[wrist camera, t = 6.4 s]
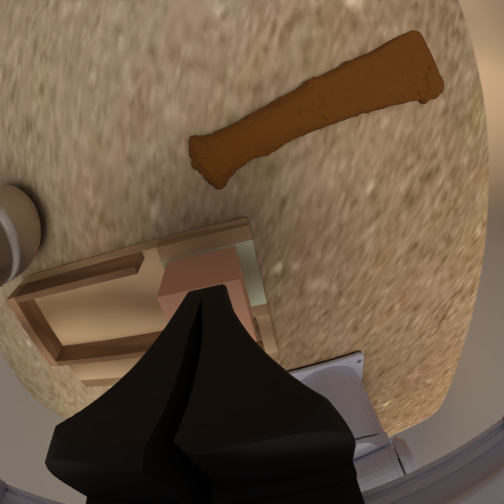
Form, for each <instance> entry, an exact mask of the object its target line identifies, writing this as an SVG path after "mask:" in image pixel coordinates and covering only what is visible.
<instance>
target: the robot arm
mask: <svg viewBox="0 0 504 504" xmlns="http://www.w3.org/2000/svg"><path fill="white" fill-rule="evenodd" d="M363 361H364V355H363V353H362V352H358V353H355V354H351V355H348V356H345V357H342V358H338V359H335V360H332V361H328V362H325V363H321V364H317V365H314V366H310V367H306V368H302V369H299V370H295V371H290V372H287V371H286V370H285V369H284V368H282V367H281V366H280V365H279V364H278V363H277V362H275V361H274V360H273V359H272V358H271V357H270V356H269V355H268V354H267V353H266V352H265V351H264V350H263V349H262V348H261V347H260V346H259V345H258V344H257V343H256V341H255V340H254V339H253V338H252V337H251V335H250V334H249V333H248V331H247V330H246V329H245V327H244V326H243V325H242V323H241V322H240V320H239V318H238V317H237V315H236V313H235V312H234V310H233V306H232V303H231V300H230V297H229V293H228V290H227V287H226V286H225V285H223V284H220V285H215V286H211V287H207V288H202V289H198V290H193V291H189V292H188V293H187V295H186V296H185V298H184V299H183V301H182V302H181V304H180V305H179V307H178V309H177V310H176V312H175V313H174V315H173V316H172V318H171V319H170V321H169V322H168V324H167V325H166V327H165V328H164V330H163V331H162V332H161V334H160V335H159V336H158V338H157V339H156V340H155V342H154V343H153V344H152V346H151V347H150V348H149V349H148V351H147V352H146V353H145V354H144V355H143V357H142V358H141V359H140V360H139V361H138V362H137V363H136V364H135V365H134V366H133V367H132V369H131V370H130V371H129V372H127V373H126V374H125V375H124V376H123V377H122V378H121V379H120V380H119V381H118V382H117V383H116V384H115V385H114V386H112V387H111V388H110V389H109V390H108V391H107V392H105V393H104V394H103V395H102V396H100V397H99V398H98V399H97V400H95V401H94V402H92V403H91V404H90V405H88V406H87V407H86V408H84V409H83V410H81V411H80V412H78V413H76V414H75V415H73V416H72V417H70V418H68V419H67V420H65V421H64V422H62V423H60V424H58V425H57V426H56V427H55V430H54V433H53V436H52V440H51V443H50V446H49V450H48V453H47V457H46V460H45V464H46V467H47V468H48V470H49V471H50V472H51V473H52V474H53V475H54V476H55V477H57V478H58V479H59V480H61V481H62V482H64V483H65V484H67V485H68V486H70V487H72V488H73V489H75V490H77V491H79V492H80V493H82V494H83V495H85V496H87V500H86V504H504V417H503V418H502V419H501V420H499V421H498V422H497V423H495V424H494V425H492V426H491V427H490V428H488V429H487V430H485V431H484V432H482V433H481V434H480V435H478V436H476V437H475V438H473V439H472V440H470V441H468V442H467V443H466V444H463V445H462V446H460V447H458V448H457V449H455V450H453V451H452V452H450V453H448V454H446V455H445V456H443V457H441V458H439V459H437V460H435V461H434V462H431V463H429V464H427V465H425V466H423V467H421V468H418V465H417V463H416V461H415V459H414V456H413V454H412V452H411V450H410V448H409V446H408V444H407V443H406V441H405V439H402V438H398V437H394V438H393V439H391V440H392V443H393V445H394V450H395V452H396V454H397V457H398V459H397V457H396V454H395V452H394V450H393V447H392V445H391V443H390V441H389V438H388V436H387V434H386V432H384V430H383V428H382V425H381V423H380V421H379V419H378V416H377V414H376V412H375V410H374V408H373V405H372V403H371V401H370V399H369V397H368V394H367V392H366V390H365V388H364V386H363V384H362V373H363ZM0 504H63V503H60V502H56V501H52V500H49V499H46V498H43V497H40V496H37V495H34V494H31V493H28V492H26V491H23V490H20V489H18V488H15V487H13V486H10V485H8V484H6V483H5V482H4V481H3V480H1V479H0Z"/></svg>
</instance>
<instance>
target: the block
mask: <svg viewBox="0 0 504 504" xmlns="http://www.w3.org/2000/svg"><path fill="white" fill-rule="evenodd" d="M220 284H223V285H225V286H226V287H227V290H228V293H229V297H230V300H231V303H232V306H233V310H234V312H235V313H236V315H237V317H238V318H239V320H240V322H241V323H242V325H243V326H244V327H245V329H246V330H247V331H248V333H249V334H250V335H251V337H252V338H253V339H254V340H255V341H256V342H257V339H256V333H255V327H254V321H253V315H252V309H251V304H250V300H249V296H248V292H247V288H246V284H245V281H244V277H243V273H242V269H241V265H240V262H239V258H238V254H237V250H236V246H232V247H228V248H224V249H219V250H215V251H211V252H207V253H203V254H198V255H194V256H190V257H186V258H182V259H178V260H173V261H169V262H167V265H166V268H165V271H164V275H163V278H162V281H161V285H160V288H159V292H158V295H157V299H158V301H159V303H160V305H161V308H162V310H163V312H164V314H165V316H166V319H167V321H168V322H169V321H170V319H171V318H172V316H173V315H174V313H175V312H176V310H177V309H178V307H179V305H180V304H181V302H182V301H183V299H184V298H185V296H186V295H187V293H188V292H189V291H193V290H198V289H202V288H207V287H211V286H215V285H220Z"/></svg>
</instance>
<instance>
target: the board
mask: <svg viewBox="0 0 504 504" xmlns="http://www.w3.org/2000/svg"><path fill="white" fill-rule="evenodd" d="M232 246H236V250H237V254H238V258H239V262H240V265H241V269H242V273H243V277H244V281H245V284H246V288H247V292H248V296H249V300H250V304H251V309H252V315H253V318H255V317H256V319H257V323H258V327H259V331H260V334H261V338H262V342H259V343H257V344H258V345H259V346H260V347H261V348H262V349H263V350H264V351H265V352H266V353H267V354H268V355H269V356H270V357H271V358H272V359H273V360H278V359H280V358H279V354H278V350H277V345H276V341H275V336H274V332H273V327H272V323H271V319H270V314H269V310H268V305H267V301H266V297H265V292H264V288H263V283H262V279H261V275H260V270H259V266H258V261H257V257H256V253H255V248H254V244H253V240H252V235H251V231H250V227H249V223H248V219H247V217H244V218H240V219H236V220H231V221H227V222H223V223H219V224H215V225H211V226H207V227H203V228H199V229H195V230H191V231H187V232H183V233H179V234H175V235H171V236H167V237H163V238H159V239H156V240H152V241H148V242H144V243H141V244H137V245H133V246H129V247H126V248H122V249H118V250H115V251H111V252H108V253H104V254H101V255H97V256H94V257H90V258H87V259H83V260H80V261H76V262H73V263H69V264H66V265H63V266H59V267H56V268H53V269H49V270H46V271H43V272H40V273H36V274H33V275H30V276H27V277H26V278H25V279H24V280H23V281H22V282H21V283H20V285H19V286H18V287H17V288H16V289H15V290H14V291H13V293H12V294H11V295H10V296H9V297H8V298H7V301H8V303H9V305H10V306H11V308H12V310H13V311H14V313H15V315H16V316H17V318H18V320H19V321H20V323H21V324H22V326H23V327H24V329H25V331H26V332H27V334H28V335H29V337H30V338H31V340H32V341H33V342H34V344H35V345H36V347H37V348H38V350H39V351H40V352H41V354H42V355H43V357H44V358H45V359H46V361H47V362H48V363H49V365H50V366H61V365H69V366H70V367H71V369H72V370H73V371H74V373H75V374H76V375H77V377H78V378H79V379H80V380H81V382H82V383H83V384H84V385H85V387H91V386H108V385H115V384H116V383H117V382H118V381H119V380H120V379H121V378H122V377H123V376H124V375H125V374H126V373H127V372H129V371H130V370H131V369H132V367H133V366H134V365H135V364H136V363H137V362H138V361H139V360H140V359H141V358H142V357H143V355H144V354H145V353H146V352H147V351H148V349H149V348H150V347H151V346H152V344H153V343H154V342H155V340H156V339H157V338H158V336H159V335H160V334H161V332H162V331H163V330H164V328H165V327H166V325H167V324H168V321H167V319H166V316H165V314H164V312H163V310H162V308H161V305H160V303H159V301H158V299H157V295H158V292H159V288H160V285H161V281H162V278H163V275H164V271H165V268H166V265H167V262H169V261H173V260H178V259H182V258H186V257H190V256H194V255H198V254H203V253H207V252H211V251H215V250H219V249H224V248H228V247H232Z"/></svg>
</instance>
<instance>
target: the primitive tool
mask: <svg viewBox="0 0 504 504" xmlns="http://www.w3.org/2000/svg"><path fill="white" fill-rule="evenodd" d="M443 90H444V81H443V80H442V77H441V76H440V74H439V71H438V68H437V66H436V64H435V61H434V59H433V57H432V54H431V52H430V50H429V48H428V46H427V44H426V42H425V40H424V38H423V36H422V35H421V33H420V32H418V31H415V30H413V31H410V32H408V33H405V34H402V35H401V36H397V37H396V38H394V39H392V40H390V41H388V42H387V43H385V44H383V45H382V46H380V47H378V48H377V49H375V50H373V51H371V52H369V53H367V54H365V55H363V56H361V57H357V58H355V59H353V60H351V61H346V62H344V63H343V65H341V66H340V67H338V68H336V69H334V70H331V71H330V72H328V73H326V74H324V75H322V76H319V77H313V78H312V79H310V80H308V81H305V82H304V83H303V84H302V85H301V86H300V87H298V88H297V89H296V90H295V91H293V92H290V93H288V94H286V95H284V96H282V97H280V98H278V99H276V100H275V101H273V102H271V103H270V104H268V105H267V106H265V107H263V108H261V109H258V111H256V112H254V113H252V114H250V115H247V116H246V117H244V118H243V119H241V120H240V121H238V122H236V123H234V124H232V125H230V126H228V127H226V128H223V129H221V130H218V131H216V132H215V133H213V134H210V135H205V136H196V135H195V136H190V139H189V157H191V159H192V162H191V164H192V167H193V168H194V169H196V170H198V171H199V173H201V174H202V175H203V177H204V179H205V180H207V181H208V183H209V184H211V185H212V186H214V187H215V188H216V189H219V190H220V189H223V188H224V187H225V186H226V184H227V181H228V179H229V178H230V177H231V176H233V174H234V173H235V171H236V170H238V169H239V168H241V167H242V166H244V165H245V164H246V163H247V162H248V161H250V160H252V159H254V158H258V157H261V156H268V155H269V154H271V153H272V152H275V151H276V150H278V149H279V148H280V147H282V146H283V145H284V144H286V143H288V142H290V141H291V140H293V139H296V138H298V137H300V136H304V135H305V134H308V133H310V132H312V131H315V130H317V129H321V128H324V127H326V126H329V125H331V124H334V123H337V122H339V121H342V120H346V119H348V118H351V117H354V116H359V115H360V114H362V113H369V112H371V111H375V110H380V109H384V108H386V107H389V106H391V105H397V104H403V103H407V102H409V101H416V100H419V101H420V103H423V104H426V103H427V102H428V101H429V100H430V99H435V98H437V97H438V96H439V95H440V94H441V93H442V92H443Z"/></svg>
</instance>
